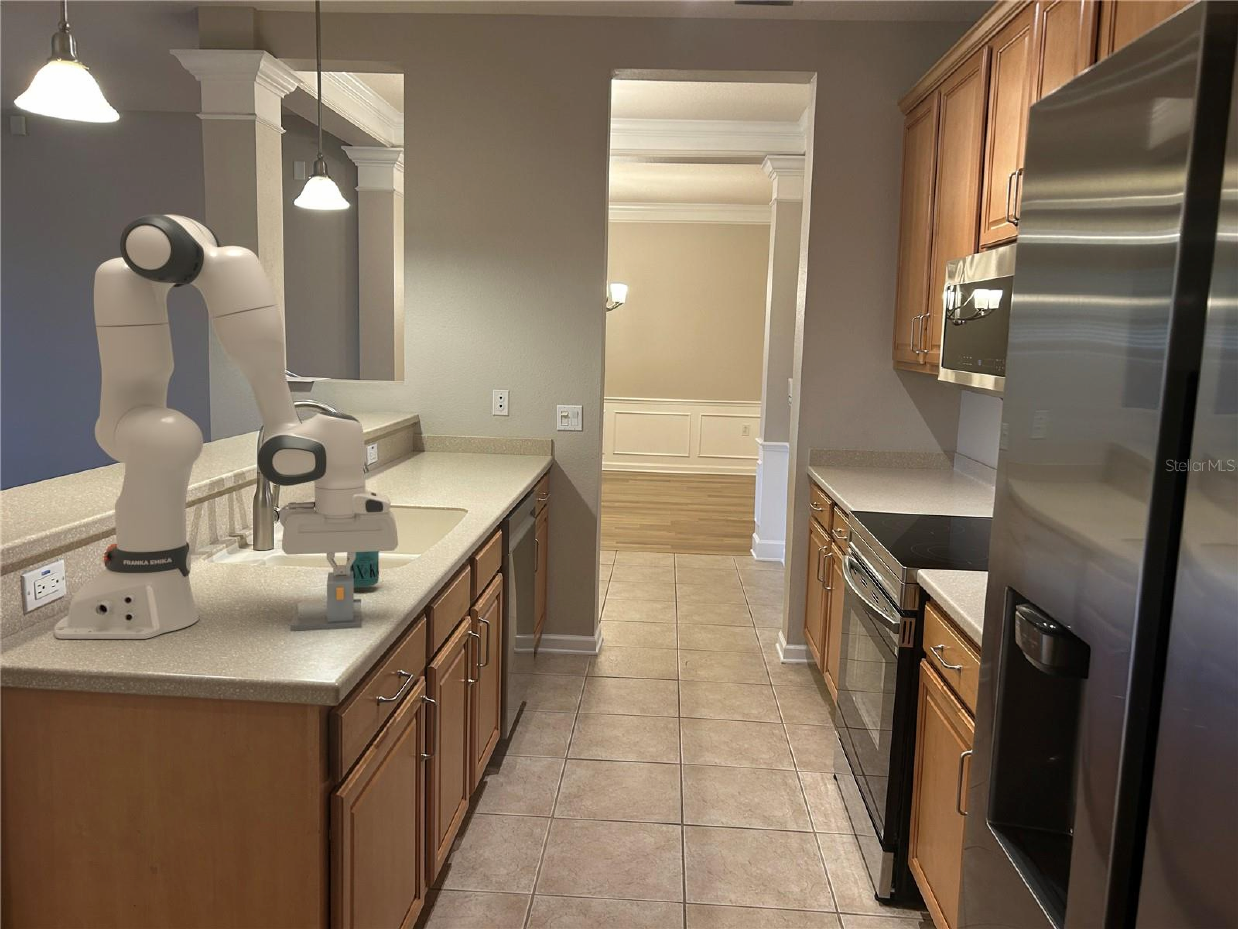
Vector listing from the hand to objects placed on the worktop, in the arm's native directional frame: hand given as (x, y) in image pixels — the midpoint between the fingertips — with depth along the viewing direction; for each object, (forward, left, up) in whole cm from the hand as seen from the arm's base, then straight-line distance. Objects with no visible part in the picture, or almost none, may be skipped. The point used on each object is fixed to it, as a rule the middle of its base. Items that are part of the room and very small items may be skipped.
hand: (341, 575), depth 167 cm
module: (0, 0, -7) cm, 7 cm away
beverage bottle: (+4, +20, -9) cm, 22 cm away
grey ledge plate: (-2, 0, -8) cm, 9 cm away
